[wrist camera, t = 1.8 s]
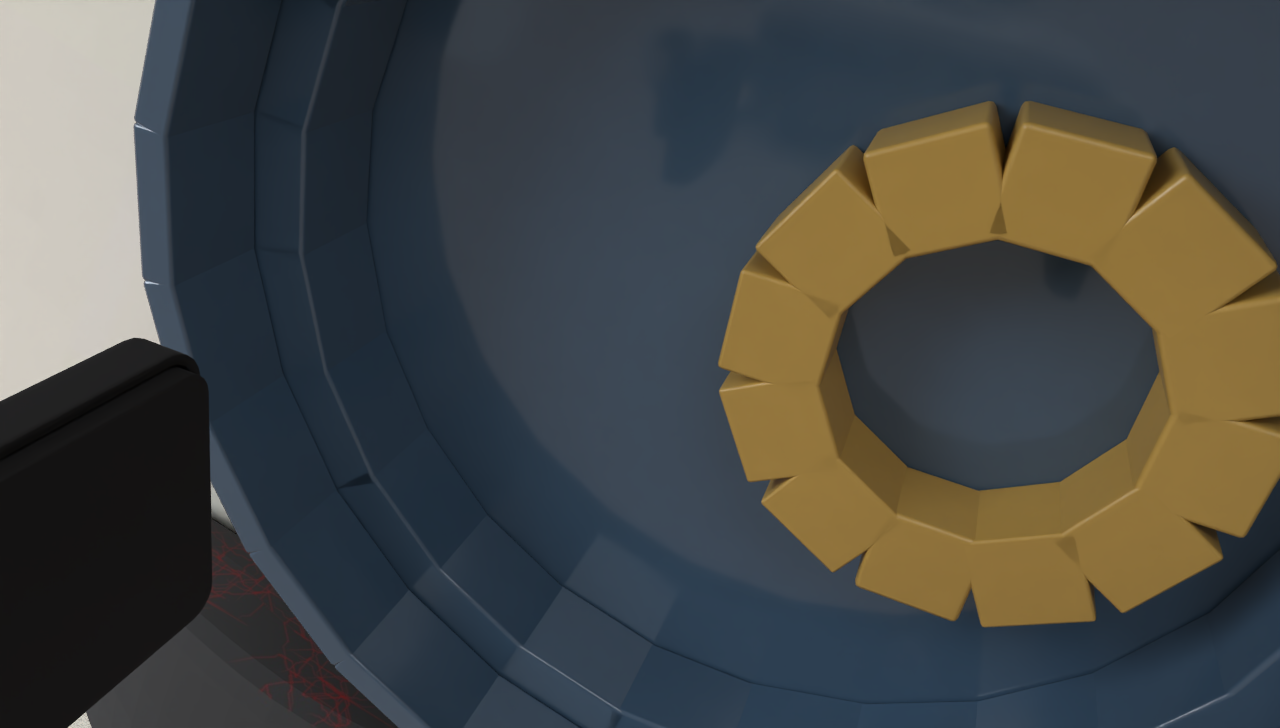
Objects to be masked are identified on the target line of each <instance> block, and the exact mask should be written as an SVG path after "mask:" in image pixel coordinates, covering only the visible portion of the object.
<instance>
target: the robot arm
mask: <svg viewBox="0 0 1280 728" xmlns="http://www.w3.org/2000/svg"><path fill="white" fill-rule="evenodd" d="M211 589H212V538H211V483H210V428H209V390H208V384H207V382H206V381H205V379H204V378H203V377H201V376H200V372H199V367H198V365H197V363H196V362H195V360H194V359H193V358H191V357H190V356H188V355H186V354H183V353H181V352H178V351H175V350H172V349H170V348H167V347H164V346H162V345H159V344H156V343H154V342H151V341H148V340H146V339H141V338H132V339H129V340H126V341H123V342H121V343H119V344H117V345H115V346H113V347H111V348H109V349H107V350H105V351H103V352H101V353H98V354H96V355H94V356H92V357H90V358H88V359H86V360H84V361H82V362H80V363H78V364H76V365H74V366H72V367H70V368H68V369H66V370H64V371H62V372H60V373H58V374H56V375H53V376H51V377H49V378H47V379H45V380H43V381H41V382H39V383H37V384H35V385H33V386H31V387H29V388H27V389H25V390H23V391H21V392H19V393H17V394H15V395H13V396H10V397H8V398H6V399H4V400H2V401H0V728H68V727H69V726H70V725H71V724H72V723H73V722H75V721H76V720H77V719H78V718H79V717H80V716H82V715H83V714H84V713H85V712H86V711H87V710H89V709H90V708H91V707H92V706H93V705H94V704H96V703H97V702H98V701H99V700H100V699H101V698H103V697H104V696H105V695H106V694H107V693H108V692H110V691H111V690H112V689H113V688H114V687H115V686H117V685H118V684H119V683H120V682H121V681H122V680H124V679H125V678H126V677H127V676H128V675H129V674H131V673H132V672H133V671H134V670H135V669H136V668H138V667H139V666H140V665H141V664H142V663H143V662H145V661H146V660H147V659H148V658H149V657H150V656H152V655H153V654H154V653H155V652H156V651H157V650H159V649H160V648H161V647H162V646H163V645H164V644H166V643H167V642H168V641H169V640H170V639H171V638H173V637H174V636H175V635H176V634H177V633H178V632H180V631H181V630H182V629H183V628H184V627H185V626H187V625H188V624H189V623H190V622H191V621H192V620H194V618H195V617H196V616H197V615H198V614H199V613H200V612H201V610H202V609H203V607H204V606H205V604H206V602H207V600H208V598H209V595H210V592H211Z"/></svg>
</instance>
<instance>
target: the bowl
mask: <svg viewBox="0 0 1280 728" xmlns="http://www.w3.org/2000/svg"><path fill="white" fill-rule="evenodd" d="M987 101H992V102H994V103H995V104H996V106H997V111H998V115H999V120H1000V125H1001V130H1002V134H1003V139H1004V144H1005V149H1006V147H1007V144H1008V141H1009V139H1010V136H1011V133H1012V130H1013V127H1014V125H1015V122H1016V119H1017V116H1018V114H1019V111H1020V108H1021V106H1022V104H1023V103H1024V102H1026V101H1033V102H1037V103H1041V104H1045V105H1049V106H1053V107H1057V108H1061V109H1065V110H1069V111H1073V112H1077V113H1081V114H1085V115H1088V116H1092V117H1096V118H1100V119H1104V120H1108V121H1112V122H1116V123H1120V124H1124V125H1128V126H1132V127H1136V128H1140V129H1143V130H1144V131H1146V132H1147V134H1148V137H1149V139H1150V141H1151V144H1152V146H1153V148H1154V151H1155V153H1156V155H1157V158H1158V157H1159V156H1161V155H1162V154H1163V153H1165V152H1166V151H1167V150H1168V149H1170V148H1173V147H1175V148H1177V149H1179V150H1180V151H1181V152H1182V153H1183V154H1184V155H1185V156H1186V157H1187V158H1188V159H1189V160H1190V161H1191V162H1192V163H1193V164H1194V165H1195V166H1196V168H1197V169H1198V170H1199V171H1200V172H1201V173H1202V174H1203V175H1204V176H1205V177H1206V178H1207V179H1208V180H1209V181H1210V182H1211V183H1212V184H1213V185H1214V186H1215V187H1216V188H1217V189H1218V190H1219V191H1220V192H1221V193H1222V194H1223V195H1224V196H1225V197H1226V199H1227V200H1228V201H1229V202H1230V203H1231V204H1232V205H1233V206H1234V207H1235V208H1236V209H1237V210H1238V211H1239V212H1240V213H1241V214H1242V215H1243V216H1244V217H1245V218H1246V219H1247V220H1248V221H1249V222H1250V223H1251V224H1252V225H1253V226H1254V227H1255V228H1256V230H1257V232H1258V233H1259V235H1260V236H1261V238H1262V240H1263V241H1264V243H1265V244H1266V246H1267V248H1268V249H1269V251H1270V252H1271V254H1272V256H1273V257H1274V259H1275V260H1276V262H1277V265H1278V267H1277V269H1276V270H1277V272H1278V273H1279V275H1280V0H155V6H154V11H153V17H152V22H151V28H150V33H149V39H148V44H147V50H146V55H145V61H144V66H143V72H142V77H141V83H140V88H139V94H138V99H137V105H136V110H135V116H134V119H135V121H136V123H135V124H134V143H135V160H136V177H137V195H138V212H139V230H140V247H141V264H142V277H143V279H144V280H145V281H144V288H145V291H146V295H147V298H148V302H149V306H150V309H151V313H152V316H153V320H154V323H155V327H156V331H157V334H158V338H159V341H160V345H162V346H164V347H167V348H170V349H172V350H175V351H178V352H181V353H183V354H186V355H188V356H190V357H191V358H193V359H194V360H195V362H196V363H197V365H198V367H199V372H200V376H201V377H203V378H204V379H205V381H206V382H207V384H208V390H209V428H210V481H211V483H212V485H213V487H214V489H215V491H216V493H217V495H218V497H219V499H220V501H221V503H222V505H223V507H224V509H225V511H226V513H227V515H228V517H229V519H230V521H231V523H232V525H233V527H234V529H235V531H236V533H237V535H238V537H239V539H240V541H241V543H242V544H243V546H244V548H245V550H246V552H247V553H250V554H249V555H250V557H251V559H252V560H253V561H254V563H255V564H256V565H257V567H258V568H259V569H260V571H261V572H262V573H263V575H264V576H265V577H266V579H267V580H268V581H269V583H270V584H271V585H272V587H273V588H274V589H275V591H276V592H277V593H278V595H279V596H280V597H281V599H282V600H283V601H284V602H285V604H286V605H287V606H288V608H289V609H290V610H291V612H292V613H293V614H294V616H295V617H296V618H297V620H298V621H299V622H300V624H301V625H302V626H303V628H304V629H305V630H306V632H307V633H308V634H309V636H310V637H311V638H312V640H313V641H314V642H315V644H316V645H317V646H318V647H319V649H320V650H321V651H322V653H323V654H324V655H325V657H326V658H327V659H328V661H329V662H330V663H331V664H332V665H335V669H336V670H337V671H338V672H339V673H340V674H341V675H342V676H343V677H345V678H346V679H347V680H348V681H349V682H350V683H351V684H352V685H353V686H354V687H355V688H356V689H357V690H358V691H359V692H361V693H362V694H363V695H364V696H365V697H366V698H367V699H368V700H369V701H370V702H371V703H372V704H373V705H374V706H375V707H377V708H378V709H379V710H380V711H381V712H382V713H383V714H384V715H385V716H386V717H387V718H388V719H389V720H390V721H391V722H393V723H394V724H395V725H396V726H397V727H398V728H1280V478H1279V480H1278V482H1277V484H1276V485H1275V487H1274V489H1273V490H1272V492H1271V494H1270V496H1269V497H1268V499H1267V501H1266V502H1265V504H1264V506H1263V508H1262V509H1261V511H1260V513H1259V514H1258V516H1257V518H1256V520H1255V521H1254V523H1253V525H1252V526H1251V528H1250V530H1249V532H1248V533H1247V535H1246V536H1245V537H1244V538H1239V537H1236V536H1233V535H1230V534H1227V533H1224V532H1220V531H1217V530H1216V532H1217V535H1218V539H1219V543H1220V546H1221V550H1222V554H1223V559H1222V560H1221V561H1220V562H1218V563H1216V564H1214V565H1212V566H1210V567H1209V568H1207V569H1205V570H1203V571H1201V572H1199V573H1198V574H1196V575H1194V576H1192V577H1190V578H1188V579H1186V580H1185V581H1183V582H1181V583H1179V584H1177V585H1175V586H1174V587H1172V588H1170V589H1168V590H1166V591H1164V592H1163V593H1161V594H1159V595H1157V596H1155V597H1153V598H1151V599H1150V600H1148V601H1146V602H1144V603H1142V604H1140V605H1139V606H1137V607H1135V608H1133V609H1131V610H1129V611H1127V612H1126V613H1121V612H1120V611H1119V610H1118V609H1117V608H1116V607H1115V606H1114V605H1113V604H1112V603H1111V602H1110V601H1109V600H1108V599H1107V598H1106V597H1105V596H1104V595H1103V594H1102V593H1101V592H1100V591H1099V590H1098V589H1097V588H1096V587H1095V586H1094V594H1095V607H1096V620H1095V621H1093V622H1078V623H1059V624H1041V625H1022V626H1004V627H982V625H981V624H980V620H979V616H978V612H977V608H976V604H975V600H974V596H973V592H972V588H971V590H970V593H969V595H968V597H967V599H966V602H965V604H964V606H963V609H962V611H961V613H960V616H959V618H958V619H957V620H956V621H949V620H947V619H944V618H941V617H939V616H936V615H933V614H930V613H928V612H925V611H922V610H919V609H917V608H914V607H911V606H908V605H906V604H903V603H900V602H897V601H895V600H892V599H889V598H887V597H884V596H881V595H878V594H876V593H873V592H870V591H867V590H865V589H862V588H859V587H858V586H856V583H855V578H856V575H857V571H858V567H859V563H860V559H861V555H862V554H861V555H859V556H858V557H856V558H855V559H853V560H852V561H850V562H849V563H847V564H846V565H844V566H843V567H841V568H840V569H839V570H837V571H836V572H831V571H830V570H829V569H828V568H827V567H826V566H825V565H824V564H823V563H822V562H821V561H820V560H819V559H818V558H817V557H816V556H815V555H814V554H812V553H811V552H810V551H809V550H808V549H807V548H806V547H805V546H804V545H803V544H802V543H801V542H800V541H799V540H798V539H797V538H796V537H795V536H794V535H793V534H792V533H791V532H790V531H789V530H788V529H787V528H786V527H785V526H784V525H783V524H782V523H781V522H780V521H779V520H778V519H777V518H776V517H775V516H774V515H773V514H772V513H771V512H769V511H768V510H767V509H766V508H765V507H764V506H763V505H762V503H761V501H762V498H763V496H764V494H765V492H766V489H767V487H768V485H769V483H770V480H765V481H757V482H748V481H747V478H746V475H745V472H744V469H743V465H742V462H741V459H740V456H739V453H738V450H737V447H736V444H735V441H734V437H733V434H732V431H731V428H730V425H729V422H728V419H727V416H726V412H725V409H724V406H723V403H722V400H721V397H720V394H719V389H720V388H721V386H722V384H723V383H724V381H725V380H726V378H727V376H728V375H729V373H730V372H731V371H728V370H725V369H722V368H720V367H719V365H718V361H719V357H720V353H721V349H722V345H723V341H724V337H725V333H726V329H727V325H728V321H729V316H730V312H731V308H732V304H733V300H734V296H735V292H736V288H737V284H738V280H739V276H740V272H741V271H742V269H743V268H744V267H745V265H746V264H747V263H748V261H749V260H750V259H751V258H752V256H753V255H754V254H755V252H756V251H757V250H756V244H757V243H758V242H759V240H760V239H761V238H762V236H763V235H764V234H765V232H766V231H767V230H768V229H769V227H770V226H771V225H772V223H773V222H774V221H775V220H776V218H777V217H778V216H779V215H780V214H781V213H782V212H783V211H784V210H785V209H786V208H787V207H788V206H789V205H790V204H791V203H792V202H793V201H794V200H795V199H796V198H797V197H798V196H799V195H800V194H801V193H802V192H803V191H804V190H806V189H807V188H808V187H809V186H810V185H811V184H812V183H813V182H814V181H815V180H816V179H817V178H818V177H819V176H820V175H821V174H822V173H823V172H824V171H825V170H826V169H827V168H828V167H829V166H830V165H831V164H832V163H833V162H834V161H835V160H836V159H837V158H838V157H840V156H841V155H842V154H843V153H844V152H845V151H846V150H847V149H848V148H849V147H850V146H852V145H854V146H857V147H858V148H859V149H860V150H861V151H862V152H863V153H865V151H866V150H867V148H868V147H869V145H870V143H871V142H872V140H873V139H874V137H875V136H876V134H877V133H878V132H879V131H880V130H881V129H884V128H888V127H892V126H896V125H899V124H903V123H907V122H911V121H915V120H918V119H922V118H926V117H930V116H934V115H937V114H941V113H945V112H949V111H953V110H956V109H960V108H964V107H968V106H972V105H976V104H979V103H983V102H987ZM836 349H837V352H838V356H839V360H840V363H841V367H842V370H843V374H844V378H845V381H846V385H847V388H848V392H849V396H850V399H851V403H852V406H853V410H854V414H855V415H856V416H857V417H858V418H859V419H860V420H861V421H862V422H863V423H864V424H865V425H866V426H867V427H868V428H869V429H870V430H871V431H872V432H873V433H874V434H875V435H876V436H877V437H878V438H879V439H880V440H881V441H882V442H883V443H884V444H885V445H886V446H887V447H888V448H889V449H890V450H891V451H892V452H893V453H894V454H895V455H896V456H897V457H898V458H899V459H900V460H901V461H902V462H903V463H904V464H905V465H906V466H907V467H909V468H912V469H915V470H918V471H921V472H924V473H927V474H930V475H933V476H936V477H939V478H942V479H945V480H948V481H951V482H954V483H957V484H960V485H963V486H966V487H969V488H972V489H975V490H978V491H980V490H989V489H999V488H1008V487H1017V486H1026V485H1035V484H1045V483H1054V482H1061V481H1062V480H1064V479H1065V478H1067V477H1068V476H1070V475H1071V474H1073V473H1075V472H1076V471H1078V470H1079V469H1081V468H1082V467H1084V466H1085V465H1087V464H1089V463H1090V462H1092V461H1093V460H1095V459H1096V458H1098V457H1099V456H1101V455H1103V454H1104V453H1106V452H1107V451H1109V450H1110V449H1112V448H1113V447H1115V446H1117V445H1118V444H1120V443H1121V442H1123V441H1124V440H1126V439H1127V437H1128V435H1129V433H1130V431H1131V429H1132V427H1133V425H1134V423H1135V421H1136V419H1137V417H1138V414H1139V412H1140V410H1141V408H1142V406H1143V404H1144V402H1145V400H1146V398H1147V396H1148V394H1149V392H1150V390H1151V388H1152V386H1153V384H1154V382H1155V379H1156V377H1157V375H1158V373H1159V367H1158V361H1157V355H1156V349H1155V344H1154V338H1153V332H1152V328H1151V327H1150V326H1149V325H1148V324H1147V323H1146V322H1145V321H1144V320H1143V319H1142V318H1141V317H1140V316H1139V315H1138V314H1137V313H1136V311H1135V310H1134V309H1133V308H1132V307H1131V306H1130V305H1129V304H1128V303H1127V302H1126V301H1125V300H1124V299H1123V298H1122V297H1121V296H1120V295H1119V294H1118V293H1117V292H1116V291H1115V290H1114V289H1113V288H1112V287H1111V286H1110V285H1109V284H1108V283H1107V282H1106V281H1105V280H1104V279H1103V278H1102V277H1101V276H1100V275H1099V274H1098V273H1097V272H1096V271H1095V270H1094V269H1093V268H1092V267H1091V266H1089V265H1085V264H1082V263H1078V262H1075V261H1071V260H1068V259H1064V258H1061V257H1057V256H1053V255H1050V254H1046V253H1043V252H1039V251H1036V250H1032V249H1029V248H1025V247H1022V246H1018V245H1015V244H1011V243H1007V242H1004V241H1000V240H994V241H990V242H985V243H980V244H975V245H970V246H965V247H960V248H956V249H951V250H946V251H941V252H936V253H931V254H927V255H922V256H917V257H912V258H907V259H905V260H904V261H903V262H902V263H901V264H900V265H898V266H897V267H896V268H895V269H894V270H893V271H891V272H890V273H889V274H888V275H887V276H886V277H884V278H883V279H882V280H881V281H880V282H879V283H878V284H876V285H875V286H874V287H873V288H872V289H871V290H869V291H868V292H867V293H866V294H865V295H864V296H862V297H861V298H860V299H859V300H858V301H857V302H855V303H854V304H853V305H852V306H851V307H850V308H849V309H848V312H847V316H846V319H845V322H844V325H843V328H842V332H841V335H840V338H839V341H838V345H837V348H836Z"/></svg>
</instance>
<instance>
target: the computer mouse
mask: <svg viewBox="0 0 1280 728" xmlns="http://www.w3.org/2000/svg"><path fill="white" fill-rule="evenodd" d="M211 538H212V589H211V592H210V595H209V598H208V600H207V602H206V604H205V606H204V607H203V609H202V610H201V612H200V613H199V614H198V615H197V616H196V617H195V618H194V620H192V621H191V622H190V623H189V624H188V625H187V626H185V627H184V628H183V629H182V630H181V631H180V632H178V633H177V634H176V635H175V636H174V637H173V638H171V639H170V640H169V641H168V642H167V643H166V644H164V645H163V646H162V647H161V648H160V649H159V650H157V651H156V652H155V653H154V654H153V655H152V656H150V657H149V658H148V659H147V660H146V661H145V662H143V663H142V664H141V665H140V666H139V667H138V668H136V669H135V670H134V671H133V672H132V673H131V674H129V675H128V676H127V677H126V678H125V679H124V680H122V681H121V682H120V683H119V684H118V685H117V686H115V687H114V688H113V689H112V690H111V691H110V692H108V693H107V694H106V695H105V696H104V697H103V698H101V699H100V700H99V701H98V702H97V703H96V704H94V705H93V706H92V707H91V708H90V709H89V710H87V711H86V713H87V716H88V719H89V721H90V724H91V727H92V728H398V727H397V726H396V725H395V724H394V723H393V722H391V721H390V720H389V719H388V718H387V717H386V716H385V715H384V714H383V713H382V712H381V711H380V710H379V709H378V708H377V707H375V706H374V705H373V704H372V703H371V702H370V701H369V700H368V699H367V698H366V697H365V696H364V695H363V694H362V693H361V692H359V691H358V690H357V689H356V688H355V687H354V686H353V685H352V684H351V683H350V682H349V681H348V680H347V679H346V678H345V677H343V676H342V675H341V674H340V673H339V672H338V671H337V670H336V669H335V665H332V664H331V663H330V662H329V661H328V659H327V658H326V657H325V655H324V654H323V653H322V651H321V650H320V649H319V647H318V646H317V645H316V644H315V642H314V641H313V640H312V638H311V637H310V636H309V634H308V633H307V632H306V630H305V629H304V628H303V626H302V625H301V624H300V622H299V621H298V620H297V618H296V617H295V616H294V614H293V613H292V612H291V610H290V609H289V608H288V606H287V605H286V604H285V602H284V601H283V600H282V599H281V597H280V596H279V595H278V593H277V592H276V591H275V589H274V588H273V587H272V585H271V584H270V583H269V581H268V580H267V579H266V577H265V576H264V575H263V573H262V572H261V571H260V569H259V568H258V567H257V565H256V564H255V563H254V561H253V560H252V559H251V557H250V555H249V554H250V553H247V552H246V550H245V548H244V546H243V544H242V543H241V541H240V539H239V537H238V535H236V534H235V533H233V532H232V531H230V530H228V529H227V528H225V527H224V526H222V525H221V524H219V523H218V522H216V521H214V520H213V519H211Z"/></svg>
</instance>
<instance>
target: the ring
mask: <svg viewBox="0 0 1280 728" xmlns="http://www.w3.org/2000/svg"><path fill="white" fill-rule="evenodd" d="M994 240H1000V241H1004V242H1007V243H1011V244H1015V245H1018V246H1022V247H1025V248H1029V249H1032V250H1036V251H1039V252H1043V253H1046V254H1050V255H1053V256H1057V257H1061V258H1064V259H1068V260H1071V261H1075V262H1078V263H1082V264H1085V265H1089V266H1091V267H1092V268H1093V269H1094V270H1095V271H1096V272H1097V273H1098V274H1099V275H1100V276H1101V277H1102V278H1103V279H1104V280H1105V281H1106V282H1107V283H1108V284H1109V285H1110V286H1111V287H1112V288H1113V289H1114V290H1115V291H1116V292H1117V293H1118V294H1119V295H1120V296H1121V297H1122V298H1123V299H1124V300H1125V301H1126V302H1127V303H1128V304H1129V305H1130V306H1131V307H1132V308H1133V309H1134V310H1135V311H1136V313H1137V314H1138V315H1139V316H1140V317H1141V318H1142V319H1143V320H1144V321H1145V322H1146V323H1147V324H1148V325H1149V326H1150V327H1151V328H1152V332H1153V338H1154V344H1155V349H1156V355H1157V361H1158V367H1159V373H1158V375H1157V377H1156V379H1155V382H1154V384H1153V386H1152V388H1151V390H1150V392H1149V394H1148V396H1147V398H1146V400H1145V402H1144V404H1143V406H1142V408H1141V410H1140V412H1139V414H1138V417H1137V419H1136V421H1135V423H1134V425H1133V427H1132V429H1131V431H1130V433H1129V435H1128V437H1127V439H1126V440H1124V441H1123V442H1121V443H1120V444H1118V445H1117V446H1115V447H1113V448H1112V449H1110V450H1109V451H1107V452H1106V453H1104V454H1103V455H1101V456H1099V457H1098V458H1096V459H1095V460H1093V461H1092V462H1090V463H1089V464H1087V465H1085V466H1084V467H1082V468H1081V469H1079V470H1078V471H1076V472H1075V473H1073V474H1071V475H1070V476H1068V477H1067V478H1065V479H1064V480H1062V481H1061V482H1054V483H1045V484H1035V485H1026V486H1017V487H1008V488H999V489H989V490H980V491H978V490H975V489H972V488H969V487H966V486H963V485H960V484H957V483H954V482H951V481H948V480H945V479H942V478H939V477H936V476H933V475H930V474H927V473H924V472H921V471H918V470H915V469H912V468H909V467H907V466H906V465H905V464H904V463H903V462H902V461H901V460H900V459H899V458H898V457H897V456H896V455H895V454H894V453H893V452H892V451H891V450H890V449H889V448H888V447H887V446H886V445H885V444H884V443H883V442H882V441H881V440H880V439H879V438H878V437H877V436H876V435H875V434H874V433H873V432H872V431H871V430H870V429H869V428H868V427H867V426H866V425H865V424H864V423H863V422H862V421H861V420H860V419H859V418H858V417H857V416H856V415H855V414H854V410H853V406H852V403H851V399H850V396H849V392H848V388H847V385H846V381H845V378H844V374H843V370H842V367H841V363H840V360H839V356H838V352H837V349H836V348H837V345H838V341H839V338H840V335H841V332H842V328H843V325H844V322H845V319H846V316H847V312H848V309H849V308H850V307H851V306H852V305H853V304H854V303H855V302H857V301H858V300H859V299H860V298H861V297H862V296H864V295H865V294H866V293H867V292H868V291H869V290H871V289H872V288H873V287H874V286H875V285H876V284H878V283H879V282H880V281H881V280H882V279H883V278H884V277H886V276H887V275H888V274H889V273H890V272H891V271H893V270H894V269H895V268H896V267H897V266H898V265H900V264H901V263H902V262H903V261H904V260H905V259H907V258H912V257H917V256H922V255H927V254H931V253H936V252H941V251H946V250H951V249H956V248H960V247H965V246H970V245H975V244H980V243H985V242H990V241H994ZM756 250H757V251H756V252H755V254H754V255H753V256H752V258H751V259H750V260H749V261H748V263H747V264H746V265H745V267H744V268H743V269H742V271H741V272H740V276H739V280H738V284H737V288H736V292H735V296H734V300H733V304H732V308H731V312H730V316H729V321H728V325H727V329H726V333H725V337H724V341H723V345H722V349H721V353H720V357H719V361H718V365H719V367H720V368H722V369H725V370H728V371H731V372H730V373H729V375H728V376H727V378H726V380H725V381H724V383H723V384H722V386H721V388H720V389H719V394H720V397H721V400H722V403H723V406H724V409H725V412H726V416H727V419H728V422H729V425H730V428H731V431H732V434H733V437H734V441H735V444H736V447H737V450H738V453H739V456H740V459H741V462H742V465H743V469H744V472H745V475H746V478H747V481H748V482H757V481H765V480H770V483H769V485H768V487H767V489H766V492H765V494H764V496H763V498H762V501H761V503H762V505H763V506H764V507H765V508H766V509H767V510H768V511H769V512H771V513H772V514H773V515H774V516H775V517H776V518H777V519H778V520H779V521H780V522H781V523H782V524H783V525H784V526H785V527H786V528H787V529H788V530H789V531H790V532H791V533H792V534H793V535H794V536H795V537H796V538H797V539H798V540H799V541H800V542H801V543H802V544H803V545H804V546H805V547H806V548H807V549H808V550H809V551H810V552H811V553H812V554H814V555H815V556H816V557H817V558H818V559H819V560H820V561H821V562H822V563H823V564H824V565H825V566H826V567H827V568H828V569H829V570H830V571H831V572H836V571H837V570H839V569H840V568H841V567H843V566H844V565H846V564H847V563H849V562H850V561H852V560H853V559H855V558H856V557H858V556H859V555H861V554H862V555H861V559H860V563H859V567H858V571H857V575H856V578H855V583H856V586H858V587H859V588H862V589H865V590H867V591H870V592H873V593H876V594H878V595H881V596H884V597H887V598H889V599H892V600H895V601H897V602H900V603H903V604H906V605H908V606H911V607H914V608H917V609H919V610H922V611H925V612H928V613H930V614H933V615H936V616H939V617H941V618H944V619H947V620H949V621H956V620H957V619H958V618H959V616H960V613H961V611H962V609H963V606H964V604H965V602H966V599H967V597H968V595H969V593H970V590H971V588H972V592H973V596H974V600H975V604H976V608H977V612H978V616H979V620H980V624H981V625H982V627H1004V626H1022V625H1041V624H1059V623H1078V622H1093V621H1095V620H1096V607H1095V594H1094V586H1095V587H1096V588H1097V589H1098V590H1099V591H1100V592H1101V593H1102V594H1103V595H1104V596H1105V597H1106V598H1107V599H1108V600H1109V601H1110V602H1111V603H1112V604H1113V605H1114V606H1115V607H1116V608H1117V609H1118V610H1119V611H1120V612H1121V613H1126V612H1127V611H1129V610H1131V609H1133V608H1135V607H1137V606H1139V605H1140V604H1142V603H1144V602H1146V601H1148V600H1150V599H1151V598H1153V597H1155V596H1157V595H1159V594H1161V593H1163V592H1164V591H1166V590H1168V589H1170V588H1172V587H1174V586H1175V585H1177V584H1179V583H1181V582H1183V581H1185V580H1186V579H1188V578H1190V577H1192V576H1194V575H1196V574H1198V573H1199V572H1201V571H1203V570H1205V569H1207V568H1209V567H1210V566H1212V565H1214V564H1216V563H1218V562H1220V561H1221V560H1222V559H1223V554H1222V550H1221V546H1220V543H1219V539H1218V535H1217V532H1216V530H1217V531H1220V532H1224V533H1227V534H1230V535H1233V536H1236V537H1239V538H1244V537H1245V536H1246V535H1247V533H1248V532H1249V530H1250V528H1251V526H1252V525H1253V523H1254V521H1255V520H1256V518H1257V516H1258V514H1259V513H1260V511H1261V509H1262V508H1263V506H1264V504H1265V502H1266V501H1267V499H1268V497H1269V496H1270V494H1271V492H1272V490H1273V489H1274V487H1275V485H1276V484H1277V482H1278V480H1279V478H1280V275H1279V273H1278V272H1277V270H1276V269H1277V267H1278V265H1277V262H1276V260H1275V259H1274V257H1273V256H1272V254H1271V252H1270V251H1269V249H1268V248H1267V246H1266V244H1265V243H1264V241H1263V240H1262V238H1261V236H1260V235H1259V233H1258V232H1257V230H1256V228H1255V227H1254V226H1253V225H1252V224H1251V223H1250V222H1249V221H1248V220H1247V219H1246V218H1245V217H1244V216H1243V215H1242V214H1241V213H1240V212H1239V211H1238V210H1237V209H1236V208H1235V207H1234V206H1233V205H1232V204H1231V203H1230V202H1229V201H1228V200H1227V199H1226V197H1225V196H1224V195H1223V194H1222V193H1221V192H1220V191H1219V190H1218V189H1217V188H1216V187H1215V186H1214V185H1213V184H1212V183H1211V182H1210V181H1209V180H1208V179H1207V178H1206V177H1205V176H1204V175H1203V174H1202V173H1201V172H1200V171H1199V170H1198V169H1197V168H1196V166H1195V165H1194V164H1193V163H1192V162H1191V161H1190V160H1189V159H1188V158H1187V157H1186V156H1185V155H1184V154H1183V153H1182V152H1181V151H1180V150H1179V149H1177V148H1175V147H1173V148H1170V149H1168V150H1167V151H1166V152H1165V153H1163V154H1162V155H1161V156H1159V157H1158V158H1157V155H1156V153H1155V151H1154V148H1153V146H1152V144H1151V141H1150V139H1149V137H1148V134H1147V132H1146V131H1144V130H1143V129H1140V128H1136V127H1132V126H1128V125H1124V124H1120V123H1116V122H1112V121H1108V120H1104V119H1100V118H1096V117H1092V116H1088V115H1085V114H1081V113H1077V112H1073V111H1069V110H1065V109H1061V108H1057V107H1053V106H1049V105H1045V104H1041V103H1037V102H1033V101H1026V102H1024V103H1023V104H1022V106H1021V108H1020V111H1019V114H1018V116H1017V119H1016V122H1015V125H1014V127H1013V130H1012V133H1011V136H1010V139H1009V141H1008V144H1007V147H1006V149H1005V144H1004V139H1003V134H1002V130H1001V125H1000V120H999V115H998V111H997V106H996V104H995V103H994V102H992V101H987V102H983V103H979V104H976V105H972V106H968V107H964V108H960V109H956V110H953V111H949V112H945V113H941V114H937V115H934V116H930V117H926V118H922V119H918V120H915V121H911V122H907V123H903V124H899V125H896V126H892V127H888V128H884V129H881V130H880V131H879V132H878V133H877V134H876V136H875V137H874V139H873V140H872V142H871V143H870V145H869V147H868V148H867V150H866V151H865V153H863V152H862V151H861V150H860V149H859V148H858V147H857V146H854V145H852V146H850V147H849V148H848V149H847V150H846V151H845V152H844V153H843V154H842V155H841V156H840V157H838V158H837V159H836V160H835V161H834V162H833V163H832V164H831V165H830V166H829V167H828V168H827V169H826V170H825V171H824V172H823V173H822V174H821V175H820V176H819V177H818V178H817V179H816V180H815V181H814V182H813V183H812V184H811V185H810V186H809V187H808V188H807V189H806V190H804V191H803V192H802V193H801V194H800V195H799V196H798V197H797V198H796V199H795V200H794V201H793V202H792V203H791V204H790V205H789V206H788V207H787V208H786V209H785V210H784V211H783V212H782V213H781V214H780V215H779V216H778V217H777V218H776V220H775V221H774V222H773V223H772V225H771V226H770V227H769V229H768V230H767V231H766V232H765V234H764V235H763V236H762V238H761V239H760V240H759V242H758V243H757V244H756Z"/></svg>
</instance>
